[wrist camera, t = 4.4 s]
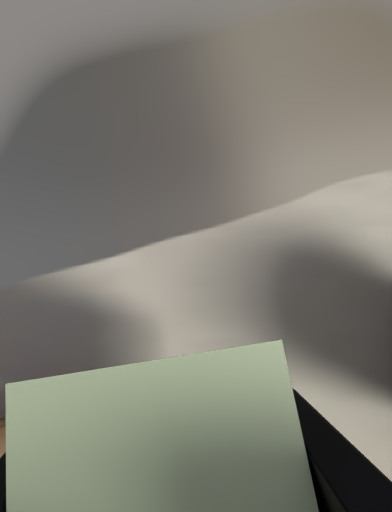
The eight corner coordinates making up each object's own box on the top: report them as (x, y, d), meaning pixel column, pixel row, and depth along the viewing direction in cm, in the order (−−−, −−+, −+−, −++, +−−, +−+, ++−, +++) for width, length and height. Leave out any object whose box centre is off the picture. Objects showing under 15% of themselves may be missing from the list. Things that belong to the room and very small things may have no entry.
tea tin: (251, 481, 15) (356, 685, 6) (123, 504, 15) (7, 764, 5) (228, 350, 17) (281, 339, 7) (112, 369, 17) (5, 383, 7)
